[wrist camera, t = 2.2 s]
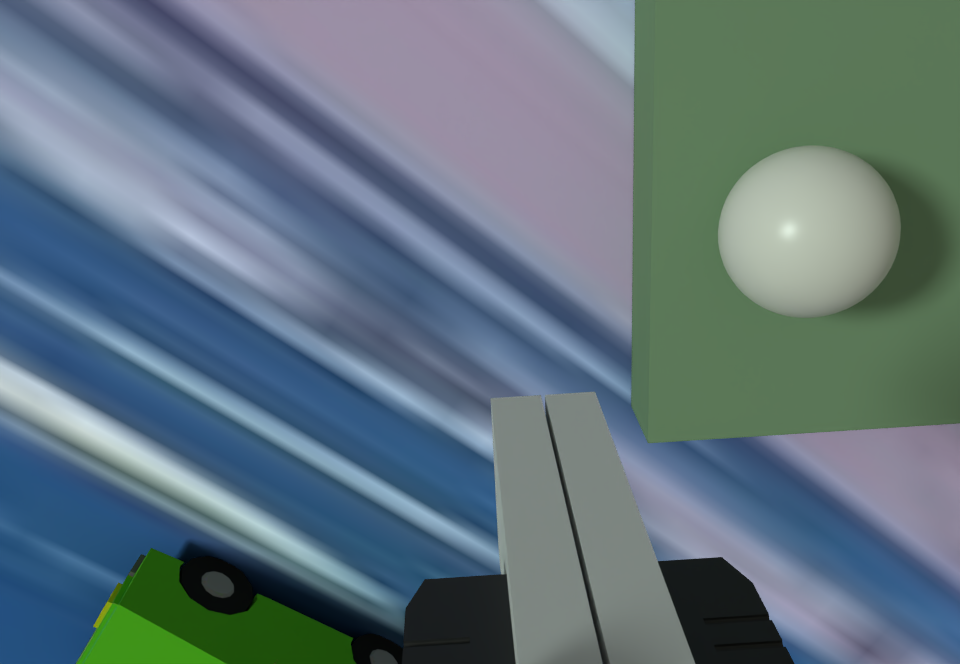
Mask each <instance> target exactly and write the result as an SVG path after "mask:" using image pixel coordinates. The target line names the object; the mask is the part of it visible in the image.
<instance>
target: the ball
mask: <svg viewBox="0 0 960 664" xmlns="http://www.w3.org/2000/svg"><path fill="white" fill-rule="evenodd" d="M900 233H901V222H900V214H899V209H898V205H897V203H896V200H895V198H894V195H893V193H892V191H891V189H890V187H889V186H888V184H887V182H886V181H885V180H884V179H883V177H882V176H881V175H880V174H879V173H878V172H877V171H876V170H875V169H874V168H873V167H872V166H871V165H870V164H868V163H867V162H865V161H864V160H862V159H861V158H859V157H857V156H855V155H853V154H851V153H849V152H847V151H844V150H840V149H837V148H833V147H827V146H816V145H808V146H800V147H793V148H789V149H785V150H782V151H779V152H777V153H774V154H772V155H770V156H768V157H766V158H764V159H762V160H761V161H759V162H758V163H756V164H755V165H754V166H752V167H751V168H750V169H749V170H748V171H747V172H745V173H744V174H743V175H742V176H741V178H740V179H739V180H738V181H737V182H736V184H735V185H734V186H733V188H732V189H731V191H730V193H729V195H728V196H727V198H726V200H725V203H724V206H723V208H722V211H721V216H720V220H719V227H718V244H719V251H720V255H721V258H722V261H723V264H724V267H725V269H726V271H727V273H728V275H729V276H730V278H731V279H732V281H733V282H734V284H735V285H736V286H737V288H738V289H739V290H740V291H741V292H742V293H743V294H744V295H745V296H747V297H748V298H749V299H750V300H752V301H753V302H754V303H756V304H758V305H759V306H761V307H763V308H765V309H767V310H769V311H772V312H774V313H777V314H781V315H785V316H789V317H797V318H815V317H823V316H827V315H831V314H835V313H838V312H840V311H843V310H846V309H848V308H850V307H852V306H854V305H855V304H857V303H859V302H860V301H862V300H863V299H864V298H866V297H867V296H868V295H869V294H871V293H872V292H873V291H874V290H875V289H876V288H877V287H878V286H879V284H880V283H881V282H882V281H883V279H884V278H885V277H886V275H887V274H888V272H889V270H890V269H891V267H892V264H893V262H894V260H895V258H896V255H897V251H898V248H899V243H900Z"/></svg>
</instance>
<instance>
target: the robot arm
mask: <svg viewBox="0 0 960 664" xmlns="http://www.w3.org/2000/svg"><path fill="white" fill-rule="evenodd" d="M545 411H546V416H545V412H544V408H543V403H542V399H541V395H537V396H522V397H506V398H491V413H492V432H493V450H494V469H495V487H496V506H497V525H498V543H499V557H500V568H501V575H486V576H471V577H455V578H440V579H425V580H424V581H423V583H422V584H421V586H420V588H419V589H418V591H417V592H416V594H415V595H414V597H413V598H412V600H411V601H410V603H409V604H408V606H407V607H406V612H405V626H404V641H403V642H404V648H403V656H402V664H794V662H793V660H792V658H791V656H790V654H789V652H788V651H787V649H786V647H783V644H782V639H781V637H780V635H779V633H778V631H777V629H776V627H775V625H774V623H773V622H772V620H769V614H768V612H767V610H766V608H765V606H764V604H763V602H762V600H761V598H760V596H759V594H758V593H757V591H756V589H755V587H754V585H753V583H752V582H751V581H750V580H749V579H747V578H746V577H745V576H744V575H743V574H741V573H740V572H739V571H738V570H736V569H735V568H734V567H733V566H732V565H730V564H729V563H728V562H727V561H726V560H724V559H723V558H722V557H717V558H702V559H687V560H671V561H657V559H656V556H655V553H654V551H653V548H652V545H651V542H650V540H649V537H648V534H647V532H646V529H645V526H644V523H643V521H642V518H641V515H640V513H639V510H638V507H637V505H636V502H635V499H634V496H633V494H632V491H631V488H630V486H629V483H628V480H627V477H626V475H625V472H624V469H623V467H622V464H621V461H620V458H619V456H618V453H617V450H616V448H615V445H614V442H613V440H612V437H611V434H610V431H609V429H608V426H607V423H606V421H605V418H604V415H603V412H602V410H601V407H600V404H599V402H598V399H597V396H596V394H595V392H585V393H569V394H553V395H545Z"/></svg>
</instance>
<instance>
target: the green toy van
mask: <svg viewBox="0 0 960 664" xmlns="http://www.w3.org/2000/svg"><path fill="white" fill-rule="evenodd" d="M183 563H184V562H183V561H180V560H178V559H176V558H173V557H171V556H169V555H166V554H164V553H162V552H159V551H157V550H155V549H152V548H151V549H150V551H149V552H148V554H147V556H144V555H142V554H141V555H140V557H139V559H138V560H137V562H136V563H135V565H134V566H133V568H132V569H131V571H130V572H129V574H128V576H127V577H126V579H125V581H124V583H123V584H120V583H118V584H117V586H116V588H115V589H114V591H113V593H112V594H111V596H110V598H109V600H108V601H107V603H106V605H105V606H104V608H103V610H102V612H101V613H100V615H99V617H98V619H97V621H96V622H95V624H94V626H93V627H96V630H95V632H94V633H93V635H92V637H91V638H90V640H89V642H88V644H87V645H86V647H85V649H84V650H83V652H82V654H81V655H80V657H79V659H78V661H77V662H76V664H402V656H403V649H402V648H401V647H399V646H398V645H397V644H395V643H394V642H392V641H390V640H388V639H386V638H384V637H382V636H379V635H375V634H371V633H370V634H367V635H363V636H359V637H358V638H357V639H356V640H355V642H354V643H353V645H352V646H351V642H352V640H353V638H352V637H350V636H347V635H345V634H343V633H341V632H339V631H337V630H335V629H333V628H331V627H328V626H326V625H324V624H322V623H320V622H318V621H316V620H314V619H311V618H309V617H307V616H305V615H303V614H301V613H299V612H297V611H295V610H292V609H290V608H288V607H286V606H284V605H282V604H280V603H278V602H276V601H273V600H271V599H269V598H267V597H264V596H262V595H260V594H256V596H255V597H254V599H253V591H252V586H251V584H250V582H249V581H248V579H247V578H246V576H245V575H244V573H243V572H242V571H240V570H239V569H237V568H236V567H235V566H233V565H231V564H229V563H227V562H225V561H223V560H221V559H217V558H214V557H210V556H205V557H198V558H192V559H191V560H190V561H189V562H188V563H187V564H186V565H185V566H184V567H183V568H182V569H181V571H180V568H181V566H182V564H183Z"/></svg>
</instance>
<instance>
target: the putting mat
mask: <svg viewBox="0 0 960 664" xmlns="http://www.w3.org/2000/svg"><path fill="white" fill-rule="evenodd" d="M808 145H816V146H827V147H833V148H837V149H840V150H844V151H847V152H849V153H851V154H853V155H855V156H857V157H859V158H861V159H862V160H864V161H865V162H867V163H868V164H870V165H871V166H872V167H873V168H874V169H875V170H876V171H877V172H878V173H879V174H880V175H881V176H882V177H883V179H884V180H885V181H886V182H887V184H888V186H889V187H890V189H891V191H892V193H893V195H894V198H895V200H896V203H897V205H898V209H899V214H900V222H901V233H900V243H899V248H898V251H897V255H896V258H895V260H894V262H893V264H892V267H891V269H890V270H889V272H888V274H887V275H886V277H885V278H884V279H883V281H882V282H881V283H880V284H879V286H878V287H877V288H876V289H875V290H874V291H873V292H872V293H871V294H869V295H868V296H867V297H866V298H864V299H863V300H862V301H860V302H859V303H857V304H855V305H854V306H852V307H850V308H848V309H846V310H843V311H840V312H838V313H835V314H831V315H827V316H823V317H815V318H797V317H789V316H785V315H781V314H777V313H774V312H772V311H769V310H767V309H765V308H763V307H761V306H759V305H758V304H756V303H754V302H753V301H752V300H750V299H749V298H748V297H747V296H745V295H744V294H743V293H742V292H741V291H740V290H739V289H738V288H737V286H736V285H735V284H734V282H733V281H732V279H731V278H730V276H729V275H728V273H727V271H726V269H725V267H724V264H723V261H722V258H721V255H720V251H719V244H718V227H719V220H720V216H721V211H722V208H723V206H724V203H725V200H726V198H727V196H728V195H729V193H730V191H731V189H732V188H733V186H734V185H735V184H736V182H737V181H738V180H739V179H740V178H741V176H742V175H743V174H744V173H745V172H747V171H748V170H749V169H750V168H751V167H752V166H754V165H755V164H756V163H758V162H759V161H761V160H762V159H764V158H766V157H768V156H770V155H772V154H774V153H777V152H779V151H782V150H785V149H789V148H793V147H800V146H808ZM631 406H632V409H633V411H634V413H635V415H636V417H637V420H638V422H639V424H640V426H641V429H642V431H643V433H644V435H645V438H646V440H647V442H648V443H658V442H674V441H690V440H705V439H721V438H737V437H752V436H768V435H784V434H799V433H815V432H831V431H846V430H862V429H878V428H893V427H909V426H925V425H940V424H956V423H960V0H635V69H634V176H633V284H632V391H631Z"/></svg>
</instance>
